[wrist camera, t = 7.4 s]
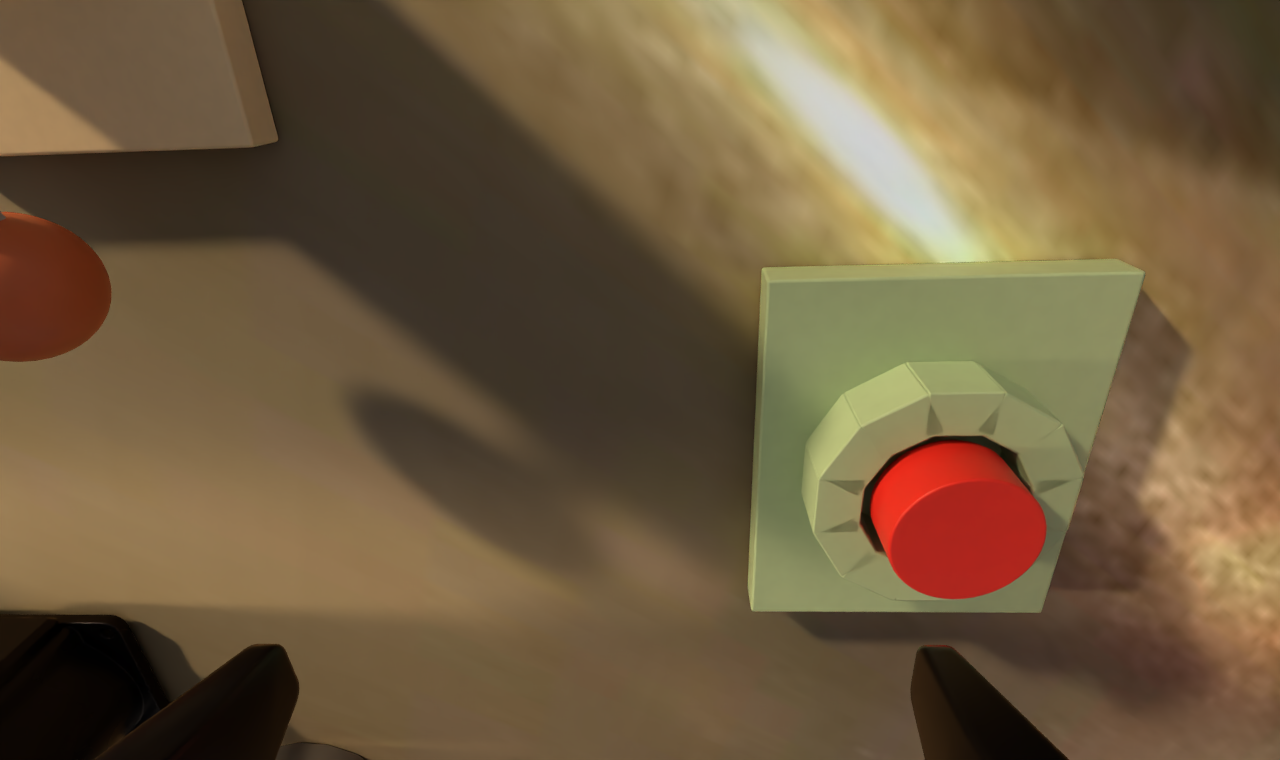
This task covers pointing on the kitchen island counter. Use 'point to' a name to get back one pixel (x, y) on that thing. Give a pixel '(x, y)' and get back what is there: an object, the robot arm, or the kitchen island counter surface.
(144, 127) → the switch bracket
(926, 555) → the button
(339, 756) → the candle holder
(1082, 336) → the button housing
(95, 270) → the switch lever
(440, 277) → the kitchen island counter surface
